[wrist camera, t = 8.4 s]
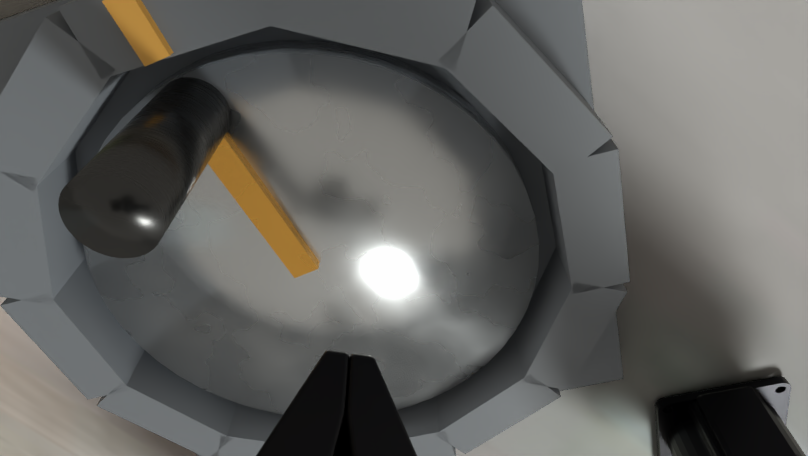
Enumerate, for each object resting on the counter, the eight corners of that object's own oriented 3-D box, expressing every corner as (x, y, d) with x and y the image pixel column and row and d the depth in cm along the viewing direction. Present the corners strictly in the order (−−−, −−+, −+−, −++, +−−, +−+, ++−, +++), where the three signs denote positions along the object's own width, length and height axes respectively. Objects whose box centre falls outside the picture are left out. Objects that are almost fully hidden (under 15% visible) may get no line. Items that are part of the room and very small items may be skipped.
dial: (582, 325, 24) (643, 486, 18) (260, 430, 28) (221, 591, 22) (424, -61, 16) (437, -4, 10) (-3, 166, 20) (-184, 308, 14)
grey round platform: (613, 355, 28) (644, 430, 24) (208, 435, 31) (184, 511, 27) (550, -171, 16) (593, -177, 12) (-93, 51, 19) (-206, 98, 16)
